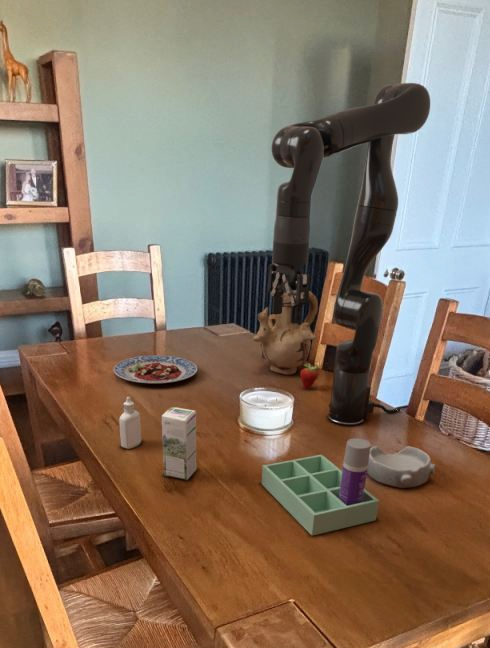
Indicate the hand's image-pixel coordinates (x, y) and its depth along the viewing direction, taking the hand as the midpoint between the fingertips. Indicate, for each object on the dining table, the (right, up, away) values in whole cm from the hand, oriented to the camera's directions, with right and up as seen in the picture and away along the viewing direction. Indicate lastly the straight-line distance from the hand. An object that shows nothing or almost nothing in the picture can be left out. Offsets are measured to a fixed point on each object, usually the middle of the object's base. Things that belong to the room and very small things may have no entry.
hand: (285, 318), depth 136 cm
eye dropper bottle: (-36, -27, +12) cm, 47 cm away
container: (+12, -43, -13) cm, 47 cm away
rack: (+6, -41, -9) cm, 42 cm away
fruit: (+10, -6, +49) cm, 50 cm away
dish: (+25, -35, +2) cm, 43 cm away
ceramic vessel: (+3, +3, +62) cm, 62 cm away
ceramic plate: (-36, 0, +55) cm, 66 cm away
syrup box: (-24, -35, 0) cm, 42 cm away
